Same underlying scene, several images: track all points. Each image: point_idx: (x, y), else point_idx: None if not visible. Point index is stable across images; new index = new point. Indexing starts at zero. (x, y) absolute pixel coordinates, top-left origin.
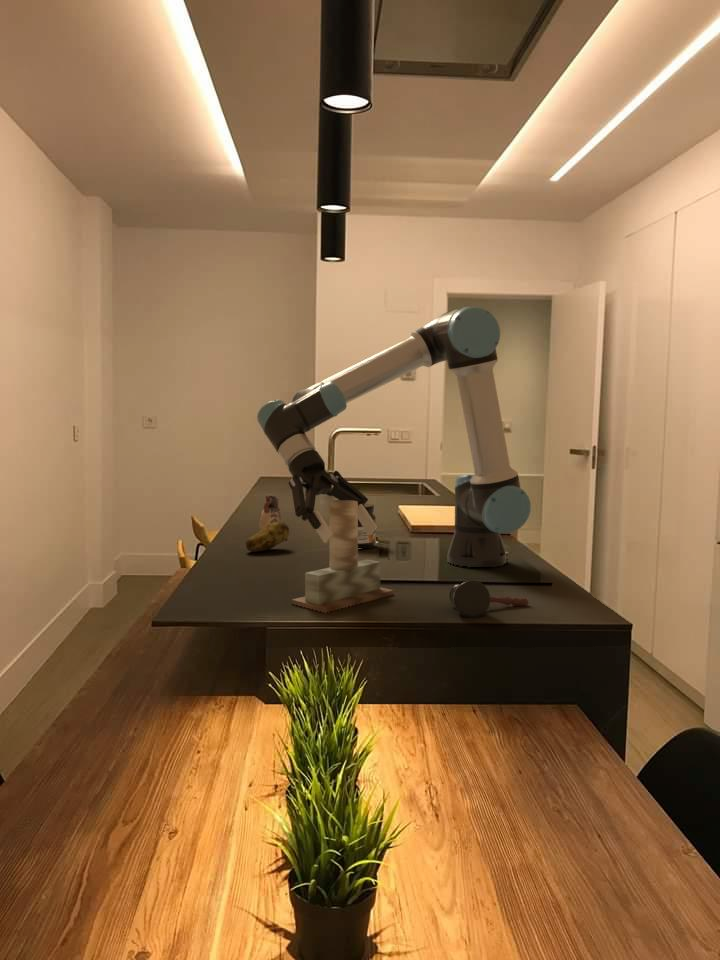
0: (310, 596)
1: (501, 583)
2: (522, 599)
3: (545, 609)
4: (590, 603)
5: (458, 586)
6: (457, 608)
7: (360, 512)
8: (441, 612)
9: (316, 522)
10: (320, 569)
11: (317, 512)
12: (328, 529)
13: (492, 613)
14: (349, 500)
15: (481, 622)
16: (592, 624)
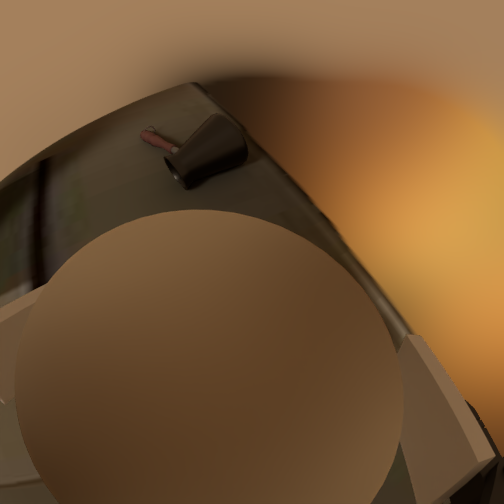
0: None
1: (39, 198)
2: (148, 131)
3: (157, 121)
4: (121, 109)
5: (237, 133)
6: (247, 157)
7: (15, 348)
8: (229, 193)
9: (472, 411)
10: None
11: (482, 446)
12: (429, 355)
13: None
14: (26, 379)
15: (251, 144)
16: (201, 90)
